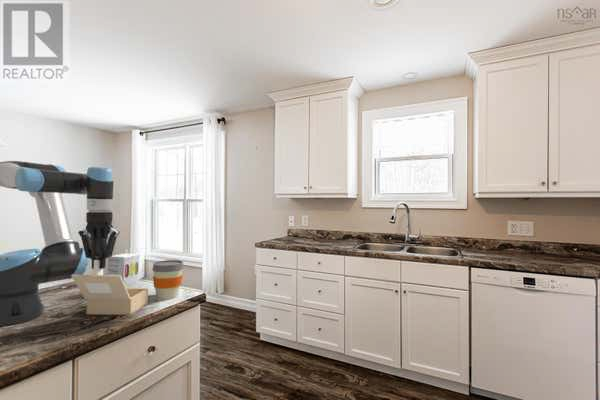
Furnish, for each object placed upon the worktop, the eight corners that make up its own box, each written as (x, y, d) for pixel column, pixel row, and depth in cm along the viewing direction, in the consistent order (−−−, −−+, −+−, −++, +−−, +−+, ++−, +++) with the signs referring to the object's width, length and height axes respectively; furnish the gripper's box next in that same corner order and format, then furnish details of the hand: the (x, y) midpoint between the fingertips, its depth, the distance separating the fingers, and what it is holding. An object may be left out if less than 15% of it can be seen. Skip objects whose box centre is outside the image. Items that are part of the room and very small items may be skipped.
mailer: (86, 314, 101) (87, 297, 101) (108, 302, 113) (109, 288, 113) (130, 314, 101) (131, 298, 102) (147, 303, 113) (148, 288, 114)
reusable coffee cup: (162, 291, 129) (163, 259, 130) (187, 292, 128) (188, 260, 128) (145, 300, 117) (146, 265, 117) (172, 301, 116) (174, 266, 116)
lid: (85, 297, 101) (84, 299, 100) (72, 274, 94) (70, 275, 94) (130, 298, 101) (129, 299, 100) (120, 275, 95) (119, 276, 94)
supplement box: (122, 294, 123) (123, 257, 124) (105, 293, 125) (106, 256, 126) (139, 288, 133) (140, 253, 133) (122, 287, 134) (124, 252, 135)
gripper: (72, 211, 93) (71, 280, 93) (111, 212, 93) (110, 281, 93) (88, 210, 100) (87, 274, 100) (125, 211, 101) (123, 275, 101)
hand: (98, 277), depth 97 cm, fingers closed
